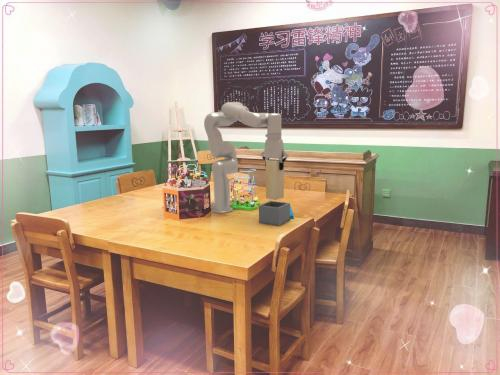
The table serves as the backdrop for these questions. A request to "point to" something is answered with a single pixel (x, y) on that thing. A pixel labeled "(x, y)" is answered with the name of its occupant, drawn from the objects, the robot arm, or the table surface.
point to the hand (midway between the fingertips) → (274, 169)
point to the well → (274, 213)
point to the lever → (291, 214)
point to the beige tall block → (274, 180)
